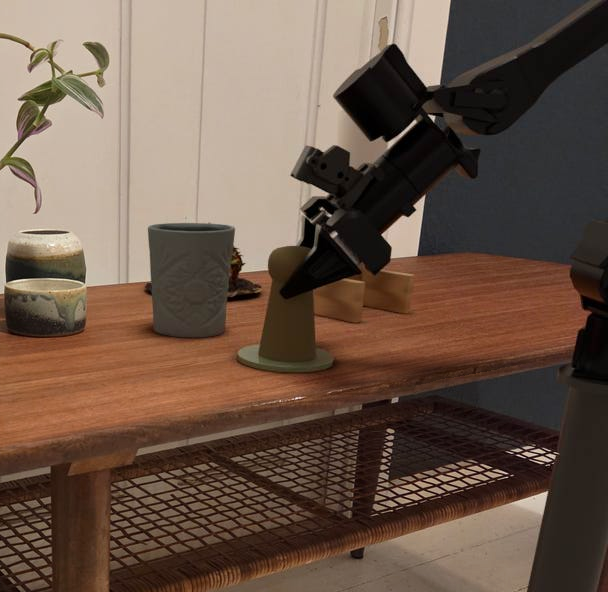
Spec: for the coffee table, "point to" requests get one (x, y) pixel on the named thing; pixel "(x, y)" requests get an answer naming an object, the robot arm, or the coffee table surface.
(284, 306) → the olive tapered shaker
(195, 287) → the grey embossed cup
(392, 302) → the rack
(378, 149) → the cylindrical container
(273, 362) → the coaster
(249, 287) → the cactus
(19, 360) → the coffee table surface
